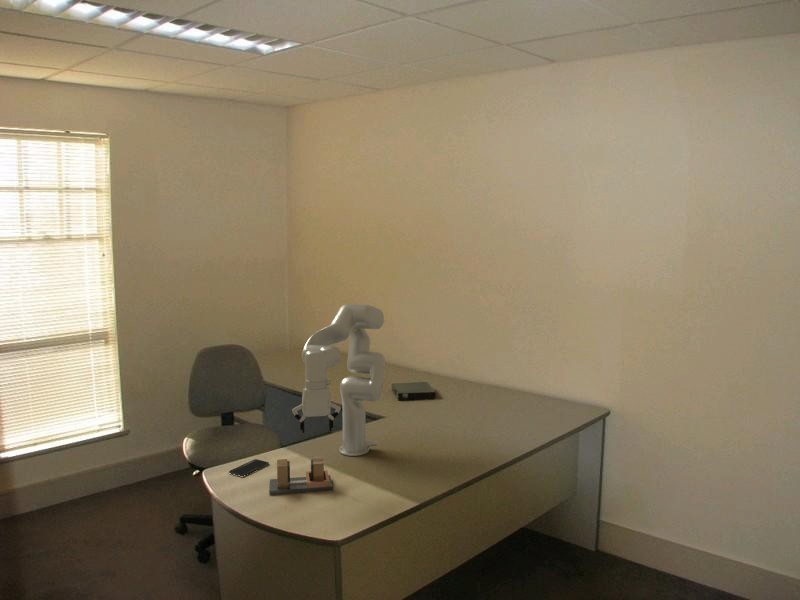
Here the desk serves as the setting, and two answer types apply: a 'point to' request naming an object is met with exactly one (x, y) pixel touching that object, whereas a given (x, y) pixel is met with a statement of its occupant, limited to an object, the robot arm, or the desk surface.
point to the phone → (249, 467)
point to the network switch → (413, 391)
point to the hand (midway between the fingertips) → (316, 430)
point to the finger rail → (296, 481)
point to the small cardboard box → (317, 469)
